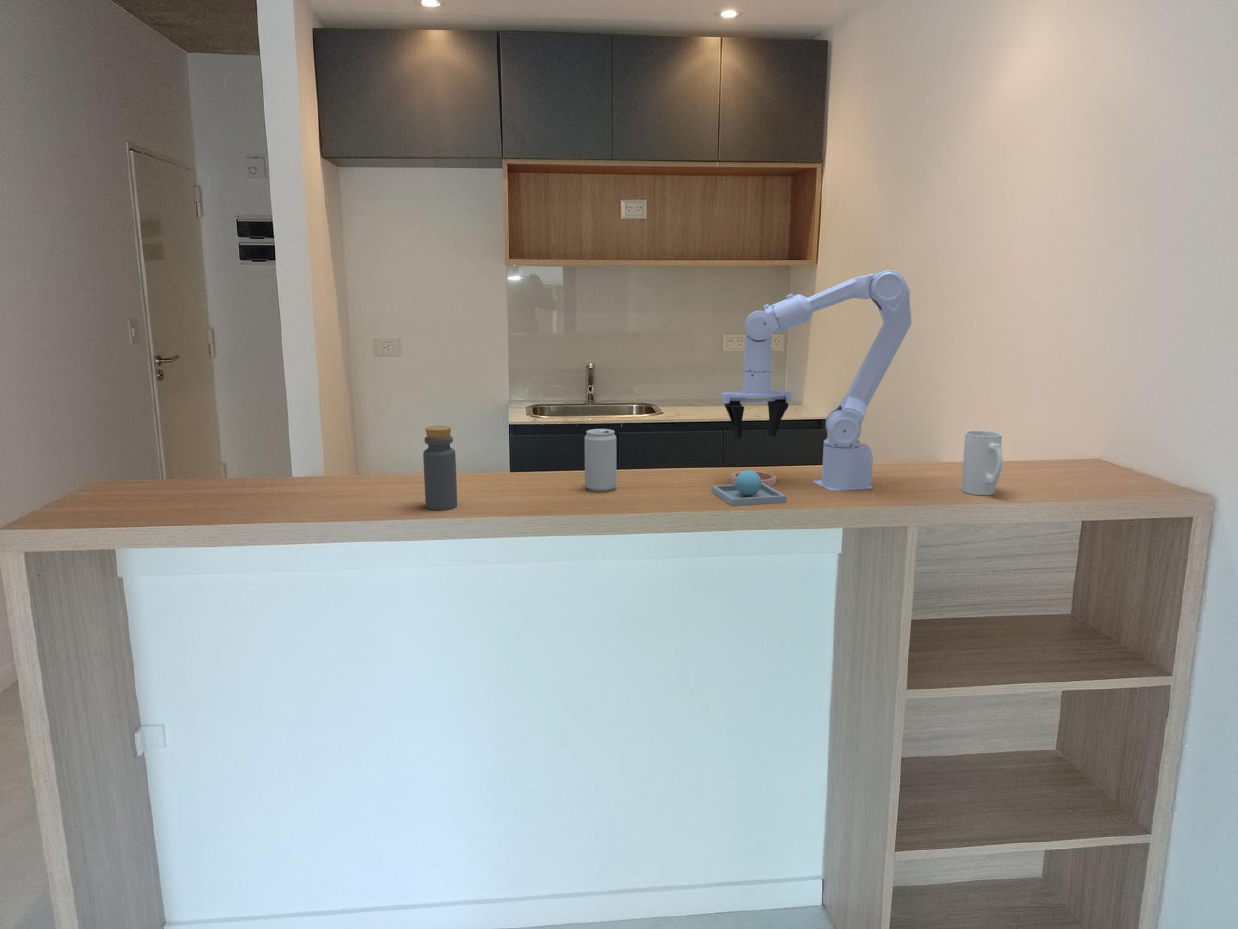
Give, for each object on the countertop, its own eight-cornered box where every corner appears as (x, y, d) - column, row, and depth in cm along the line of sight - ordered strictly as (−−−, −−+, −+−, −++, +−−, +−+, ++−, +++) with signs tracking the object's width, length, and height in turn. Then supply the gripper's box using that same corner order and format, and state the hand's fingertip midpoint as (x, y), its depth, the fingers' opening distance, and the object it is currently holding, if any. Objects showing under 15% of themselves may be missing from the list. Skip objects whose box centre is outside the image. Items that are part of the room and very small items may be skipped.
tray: (762, 490, 175) (763, 482, 174) (786, 504, 164) (786, 496, 164) (711, 493, 172) (711, 485, 172) (731, 507, 162) (731, 499, 161)
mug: (953, 488, 177) (958, 430, 174) (983, 487, 178) (989, 429, 175) (981, 501, 167) (987, 440, 164) (1013, 499, 168) (1019, 439, 165)
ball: (755, 492, 171) (756, 467, 170) (764, 498, 166) (765, 473, 165) (731, 492, 170) (732, 467, 169) (739, 499, 165) (740, 473, 164)
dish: (764, 477, 186) (765, 469, 186) (783, 487, 177) (783, 479, 177) (724, 479, 184) (724, 472, 183) (741, 489, 175) (741, 482, 175)
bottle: (419, 506, 162) (415, 427, 159) (446, 500, 166) (442, 423, 163) (436, 512, 158) (433, 431, 155) (463, 506, 162) (460, 427, 159)
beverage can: (612, 493, 172) (613, 434, 169) (581, 491, 173) (581, 432, 171) (619, 486, 178) (619, 428, 176) (588, 484, 179) (588, 427, 177)
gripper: (782, 367, 181) (779, 431, 184) (716, 369, 177) (715, 434, 180) (797, 371, 174) (793, 437, 177) (729, 373, 171) (727, 440, 174)
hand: (755, 436), depth 178 cm, fingers open, 7 cm apart
